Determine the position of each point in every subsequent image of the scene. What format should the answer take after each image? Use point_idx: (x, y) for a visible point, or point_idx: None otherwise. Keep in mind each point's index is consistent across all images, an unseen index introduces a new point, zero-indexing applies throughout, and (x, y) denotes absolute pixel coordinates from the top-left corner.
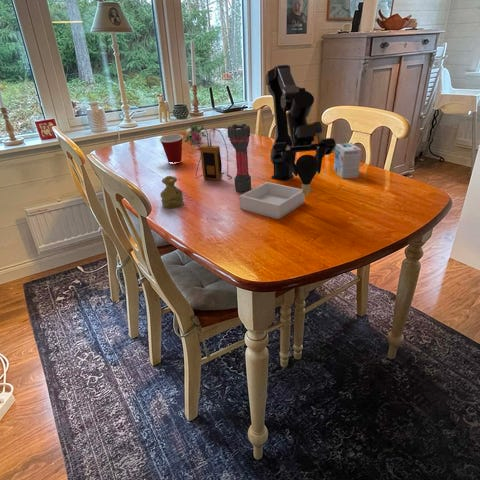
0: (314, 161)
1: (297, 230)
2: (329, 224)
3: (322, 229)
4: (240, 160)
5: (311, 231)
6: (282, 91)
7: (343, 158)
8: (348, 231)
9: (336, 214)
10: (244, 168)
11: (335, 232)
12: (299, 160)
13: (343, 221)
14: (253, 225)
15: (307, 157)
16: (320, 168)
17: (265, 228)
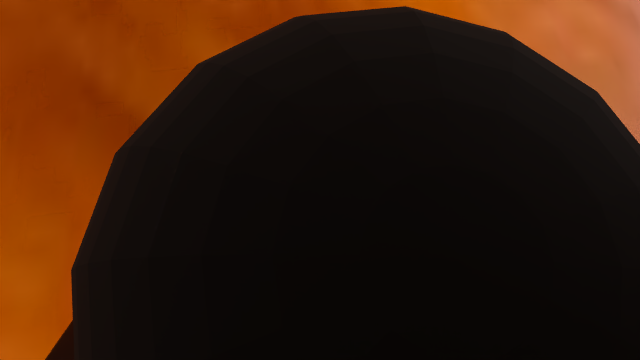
0: (168, 100)
1: (316, 9)
2: (122, 101)
3: (168, 33)
4: None
5: (234, 5)
6: None
7: None
8: (7, 23)
9: (59, 267)
10: None
11: (90, 5)
12: (609, 109)
13: (20, 155)
14: (575, 44)
15: (414, 79)
16: (65, 333)
17: (498, 16)
